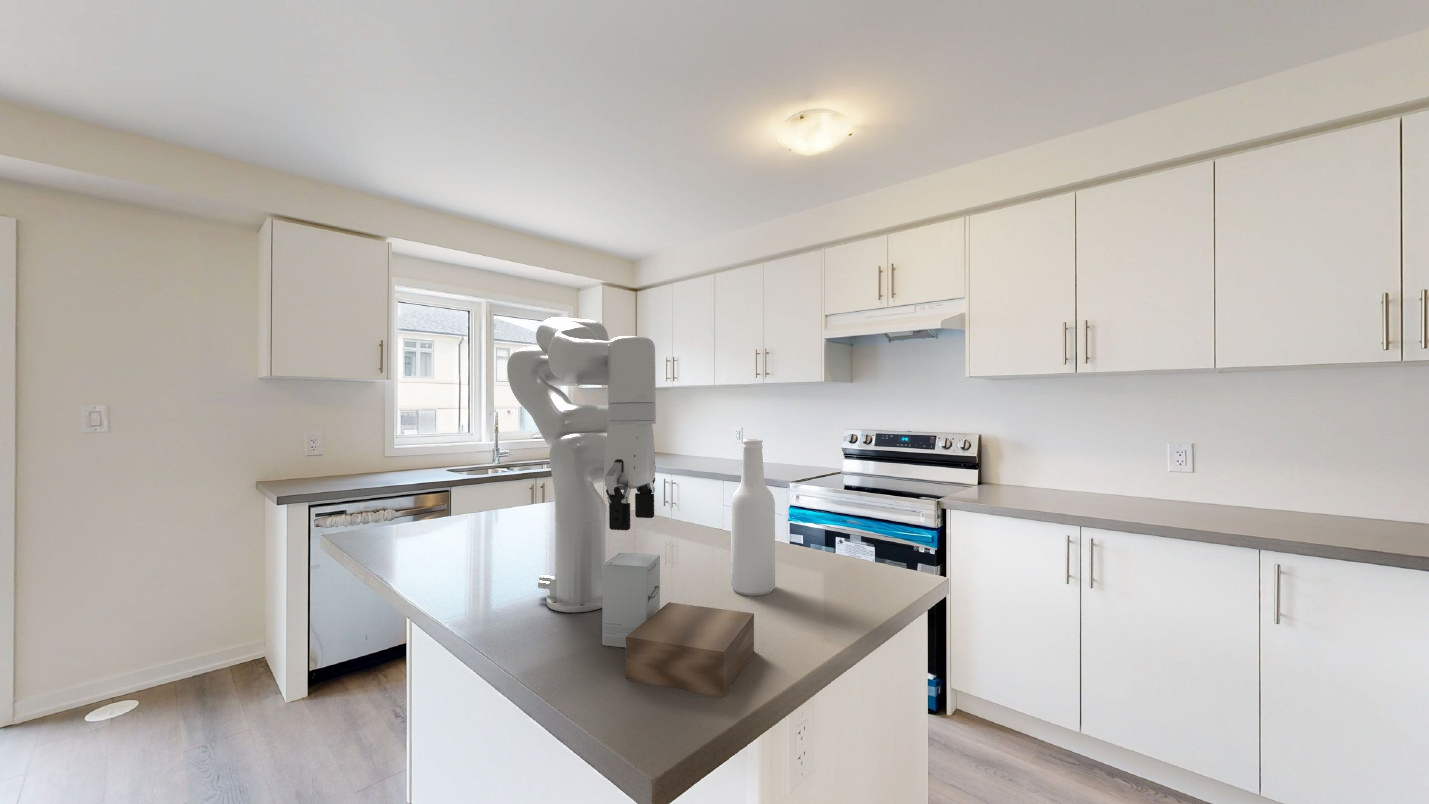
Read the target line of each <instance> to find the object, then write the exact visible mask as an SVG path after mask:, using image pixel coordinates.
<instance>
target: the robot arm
mask: <svg viewBox="0 0 1429 804" xmlns="http://www.w3.org/2000/svg"><path fill="white" fill-rule="evenodd" d="M609 339H610V338H609V335H608V331H607V329H606V327H605V326H604V324H602V323H600V322H599V321H597V320H592V319H584V318H581V319H580V318H571V317H561V316H559V317H557V316H556V317H551V318H547V319H545V320H544V321H542V322H541V323H540V324H539V326H538V327H537V330H536V333H535V340H536V343H537V346H527V347H522V348H519V349H517V350H515V351H514V352H513V353H511V355H510V356H509V357H508V361H507V366H506V369H507V371H506V373H507V379H508V384H509V386H510V390H511V391H512V393H513V395H514V397H515V399H516V400H517V402H518V403H519V404H520V405H521V407H522V408H523V409H525V410H526V412H527V413H528V414H529V415H530V416H531V418H532V419H533V422H534V424H535V426H536V427H537V429H538V431H539V433H540V435H541V436H542V439H544V441H545V443H546V444H547V445H548V447H550V449H549V458H548V459H549V466H550V473H551V477H552V483H553V484H552V485H553V492H554V493H553V495H554V576H553V575H548V574H541V575H540V576H539V578H538V583H537V588H538V589H542V590H543V589H544V590H545V589H547V590H548V591H549V594H548V595H547V596H546V599H545V600H546V601H545V602H546V606H547V607H548V608H549V609H551V610H554V611H555V612H561V613H582V612H583V613H584V612H591V611H595V610H599V609H602V601H603V564H605V563H606V562H608V540H607V539H608V530H607V529H608V527H609V529H610V530H611V531H629V530H630V529H631V503H630V502H629V501H628V500H629V498H630V496H631V491H632V490H633V489H636V491H637V492H635V494H634V505H635V506H634V514H635V515H634V516H635V517H636V518H638V519H652V518H654V517H655V491H656V488H655V487H656V486H655V483H656V477H655V475H656V471H657V470H656V469H657V466H656V452H655V451H656V450H655V437H654V434H655V433H654V427H653V425H656V424H657V406H656V404H657V403H656V402H657V400H656V395H657V393H656V387H657V386H656V383H657V382H656V346H655V343H654V341H653V340H652V339H650V338H648V337H647V336H646V337H645V336H637V335H636V336H635V335H626V336H625V335H624V336H617V337H614V338H612V339H610V340H609ZM588 385H589V386H607V405H604V404H577V403H576V404H575V403H573V402H572V401H571V400H570V398H569V397H568V395H567V394H566V393H565V392H564V391H562V390H561V389H560V388H558V387H556V386H560V387H561V386H562V387H563V386H564V387H565V386H566V387H567V386H569V387H574V386H576V387H577V386H588ZM599 483H604V486H605V487H606V490H605V492H606V495H607V503H608V506H609V507H608V509H609V510H608V514H607V505H606V501H605V500H604V497H602V495H601V494H600V492H599V491H598V490H597V488H596V487H595V484H599ZM607 515H608V516H609V517H607ZM607 522H608V523H609V524H608V523H607Z"/></svg>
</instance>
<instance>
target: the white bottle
mask: <svg viewBox="0 0 1429 804" xmlns="http://www.w3.org/2000/svg"><path fill="white" fill-rule="evenodd" d="M763 442H764V441H763V439H761V438H760V439H759V438H744V439H743V440H742V443H743V445H742V449H743V451H742V463H741V466H742V467H741V477H740V478H741V479H740V483H739V486H738V487H737V488H736V490H734V493H733V494H732V497H731V501H730V572H731V573H730V576H731V577H730V584H731V585H730V586H731V587H732V589H733V591H734V592H736V593H737V594H739V595H743V596H750V597H751V596H752V597H754V596H755V597H759V596H766V595H768V594H771V593H772V592H773V591H774V589H775V587H776V502H775V498H774V495H773V492H771V490H770V489H769V488H768V486H767V484H766V481H765V471H764V470H765V469H764V458H763V456H764V455H763V448H764V446H763Z"/></svg>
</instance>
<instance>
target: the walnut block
mask: <svg viewBox="0 0 1429 804" xmlns="http://www.w3.org/2000/svg"><path fill="white" fill-rule="evenodd" d="M754 652H755V613H753V612H746V611H739V610H732V609H723V608H715V607H708V606H700V605H693V604H685V603H679V602H677V603H676V602H670V601H669V602H667V603H665V605H663V606H662V607H660V610H658V611H657V612H656V613H655V614H653V615H652V616H651V617H650V618H648V619H647V620H646V621H645V622H643V623H642V624H641V625H640V626H638V627H637V628H636V629H635V630H633V631H632V632H631V633H630V634H628V635H627V636H626V648H625V680H629V681H635V682H640V683H646V684H650V685H656V686H662V687H666V688H667V687H668V688H673V689H677V690H684V691H688V692H694V693H699V694H705V695H711V696H716V697H721V698H724V697H725V696H726V695H727V693H728V691H729V690H730V688H731V687H732V686H733V684H734V682H735V681H736V679H737V678H738V677H739V674H740V673H741V671H742V670H743V669H744V667H745V666H746V664H747V662H748V661H749V660H750V658H751V657H752V655H753V653H754Z"/></svg>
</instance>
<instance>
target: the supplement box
mask: <svg viewBox="0 0 1429 804" xmlns="http://www.w3.org/2000/svg"><path fill="white" fill-rule="evenodd" d="M660 558H661V555H660V554H657V553H654V554H652V553H632V552H631V553H630V552H619V553H617V554H616V555H615V556H613V557H612V558H610V559H609V560H607V562H606V563H605V564H603V601H602V608H601V609H602V610H601V611H602V612H601V614H602V619H601V621H602V622H601V624H602V626H601V629H602V631H601V632H602V633H601V634H602V638H601V639H602V642H601V645H602V646H606V647H616V648H625V649H626V636H627V635H628V634H630V633H631V632H632V631H633V630H635V629H636V628H637V627H638V626H640V625H641V624H642V623H643V622H645V621H646V620H647V619H648V618H650V617H651V616H652V615H653V614H655V613H656V612H657V611H658V610H660V609H661V601H660V600H661V581H660V580H661V577H660V576H661V559H660Z"/></svg>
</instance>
